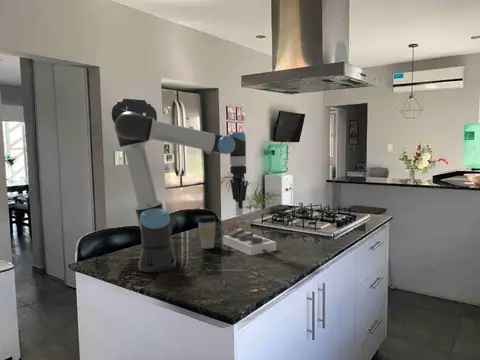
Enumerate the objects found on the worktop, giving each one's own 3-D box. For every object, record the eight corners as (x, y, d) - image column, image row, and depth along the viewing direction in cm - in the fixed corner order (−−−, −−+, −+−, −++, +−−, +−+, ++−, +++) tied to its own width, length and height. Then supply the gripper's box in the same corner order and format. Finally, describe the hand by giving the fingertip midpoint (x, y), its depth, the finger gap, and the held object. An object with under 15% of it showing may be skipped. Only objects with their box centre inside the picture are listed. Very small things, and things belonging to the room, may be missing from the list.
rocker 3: (249, 240, 176) (250, 236, 176) (244, 239, 180) (245, 235, 180) (262, 242, 180) (262, 238, 180) (257, 240, 183) (258, 236, 183)
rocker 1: (232, 237, 190) (232, 234, 190) (229, 236, 194) (228, 232, 194) (244, 232, 194) (243, 229, 193) (240, 230, 197) (239, 227, 197)
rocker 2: (240, 239, 183) (240, 236, 183) (236, 238, 187) (236, 234, 187) (253, 236, 187) (252, 232, 187) (248, 234, 190) (248, 231, 190)
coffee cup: (194, 248, 189) (193, 217, 187) (205, 243, 197) (204, 214, 196) (211, 250, 184) (209, 219, 183) (221, 245, 192) (220, 215, 191)
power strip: (260, 259, 167) (260, 248, 166) (223, 243, 196) (222, 234, 195) (286, 254, 174) (286, 243, 173) (246, 239, 203) (246, 230, 203)
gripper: (252, 165, 179) (253, 216, 181) (238, 164, 190) (239, 212, 192) (238, 166, 175) (239, 218, 177) (224, 165, 186) (225, 214, 188)
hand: (239, 215), depth 185 cm, fingers closed
